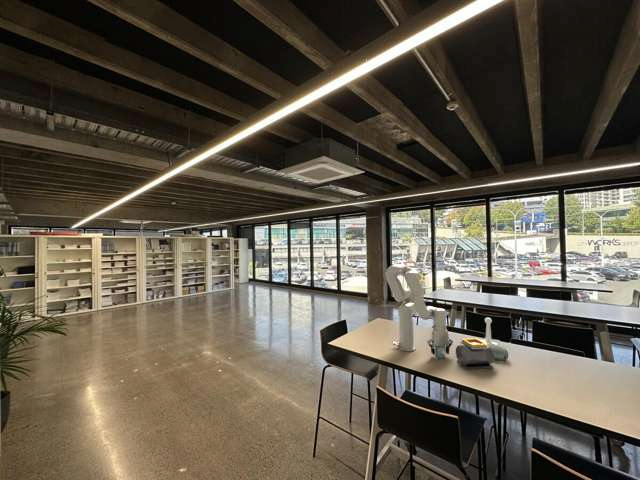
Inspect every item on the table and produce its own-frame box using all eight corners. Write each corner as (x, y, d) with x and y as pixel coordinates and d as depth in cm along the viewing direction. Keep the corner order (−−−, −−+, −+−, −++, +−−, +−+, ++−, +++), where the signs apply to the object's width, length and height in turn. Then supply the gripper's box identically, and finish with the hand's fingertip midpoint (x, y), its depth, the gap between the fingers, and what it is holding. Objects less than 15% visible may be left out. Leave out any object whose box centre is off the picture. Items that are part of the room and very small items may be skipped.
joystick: (498, 346, 190) (497, 318, 191) (495, 349, 185) (495, 320, 185) (481, 342, 198) (480, 315, 199) (477, 344, 193) (477, 317, 193)
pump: (440, 360, 167) (440, 349, 167) (433, 354, 175) (433, 344, 176) (449, 360, 167) (449, 349, 167) (441, 354, 176) (441, 344, 176)
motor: (467, 370, 154) (466, 345, 154) (455, 361, 165) (455, 338, 165) (497, 368, 155) (497, 344, 156) (484, 360, 166) (484, 337, 167)
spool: (511, 353, 169) (505, 341, 168) (510, 365, 163) (504, 352, 161) (487, 352, 179) (481, 341, 177) (485, 363, 172) (479, 351, 170)
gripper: (430, 329, 169) (430, 356, 168) (455, 328, 170) (456, 355, 170) (424, 326, 176) (424, 352, 176) (449, 325, 178) (449, 351, 177)
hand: (440, 353), depth 173 cm, fingers open, 9 cm apart
